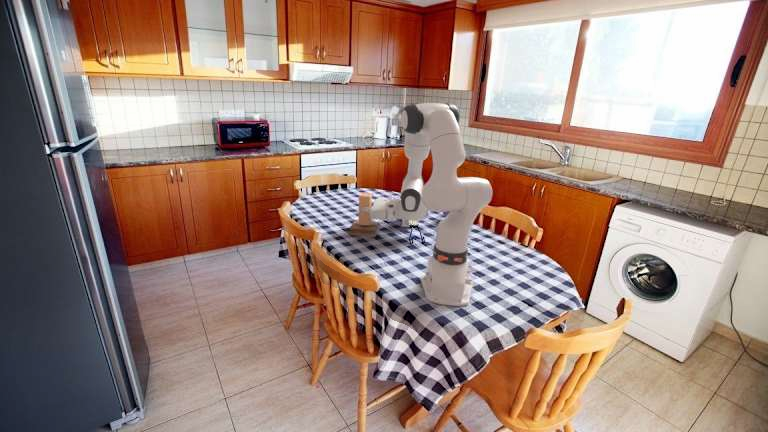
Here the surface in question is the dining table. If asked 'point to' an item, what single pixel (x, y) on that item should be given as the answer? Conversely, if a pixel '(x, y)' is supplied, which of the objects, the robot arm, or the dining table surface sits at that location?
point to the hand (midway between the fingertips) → (363, 206)
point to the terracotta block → (365, 201)
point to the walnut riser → (364, 229)
